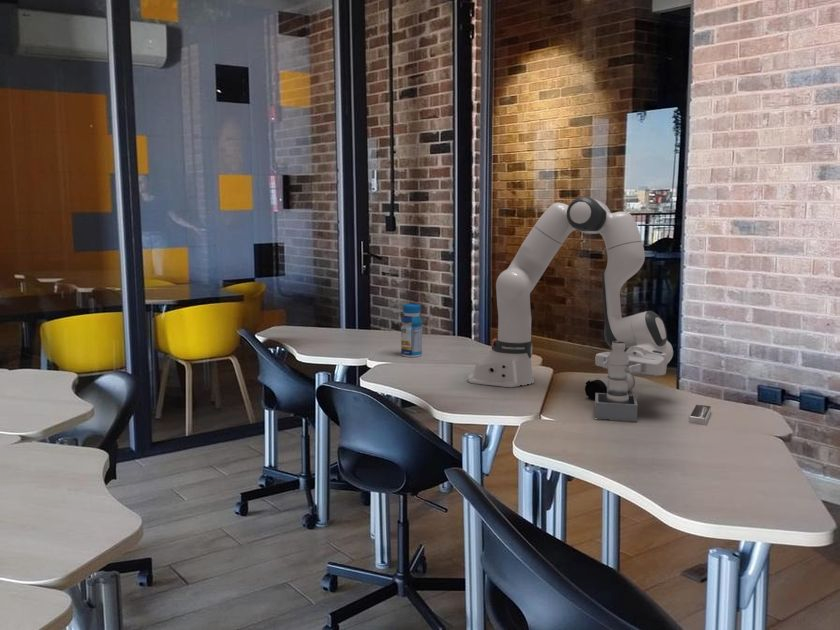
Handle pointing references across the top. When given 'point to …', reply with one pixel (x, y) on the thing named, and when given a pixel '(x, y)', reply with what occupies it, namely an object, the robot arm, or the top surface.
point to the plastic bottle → (617, 374)
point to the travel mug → (604, 386)
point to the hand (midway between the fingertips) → (616, 367)
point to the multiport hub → (700, 414)
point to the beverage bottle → (411, 331)
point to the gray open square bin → (615, 408)
